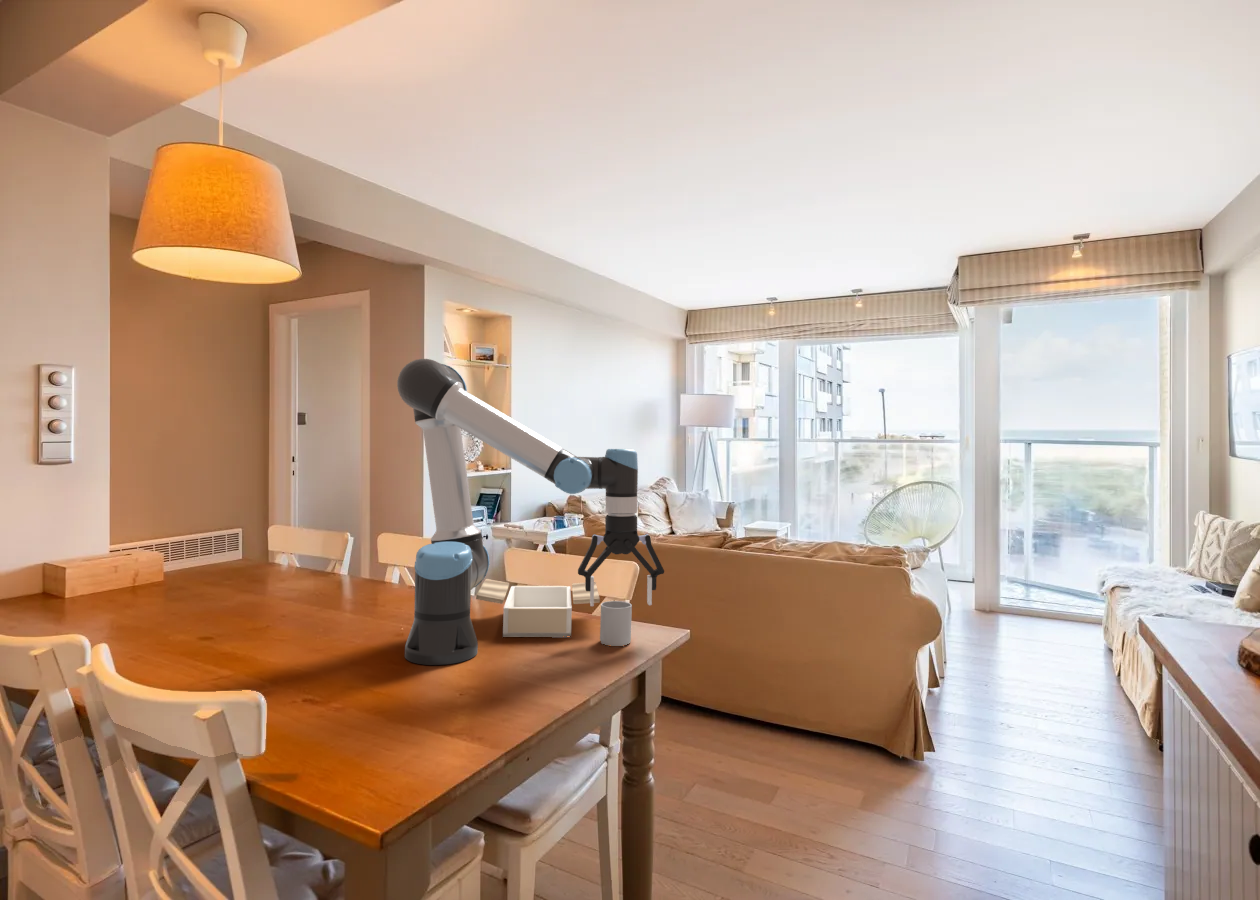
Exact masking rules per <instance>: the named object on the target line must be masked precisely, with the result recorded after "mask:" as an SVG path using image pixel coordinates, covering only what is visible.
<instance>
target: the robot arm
mask: <svg viewBox="0 0 1260 900" xmlns="http://www.w3.org/2000/svg"><path fill="white" fill-rule="evenodd" d="M396 385H397V386H396V387H397V392H398V394H399V396H400V398H401V400H402V401H403V402H404V403H405V404H406V405H407V406H408V407H410V408H412V410H413V416H414V417H413V418H414V422H415V423H414V424H415V425H417V426H418V427H419V428H420V429H421V430H422V432H423V439H424V446H425V447H424V448H425V455H426V461H427V469H428V471H427V472H428V477H429V484H430V491H431V499H432V507H433V514H434V522H435V528H436V529H435V530H436V531H435V533H434V534H433V535H432V536H431V538H430V542H431V543H429V544H425V545H423V546H422V547H420V548H419V549H418V550H417V552H416V556H415V561H414V613H413V614H414V616H413V618H414V619H413V622H412V625H411V628H410V630H409V634H408V637H407V640H406V642H405V646H404V658H405V660H407V661H408V662H410V663H414V664H418V665H425V666H442V665H443V666H444V665H453V664H457V663H462V662H466V661H468V660H470V659H473V658H474V657H476V656H477V654H478V650H479V649H478V646H479V641H478V639H477V635H476V631H475V629H474V625H473V622H472V619H471V602H472V601H471V600H472V598H471V597H472V595H471V594H472V590H473V589H474V588H476V587H477V586H479V585H480V584H481V583H482V582H483V581H484V579H486V578H485V577H486V576H487V573H488V570H489V569H490V554H489V552H488V549H487V548H486V547H485V545H484V543H483V537H482V531H481V529H480V528H478V527H477V526H475V524H474V517H473V510H472V503H471V496H470V495H471V494H470V487H469V479H468V474H467V473H468V472H467V466H466V458H465V450H464V443H463V442H464V441H463V437H462V431H465V432H466V433H468V435H470V436H473V437H474V438H476V439H478V440H480V441H481V442H483V443H485V444H486V445H488V446H489V447H491V448H493V449H495V450H497V451H498V452H500V453H502V454H503V455H505V456H507V457H509V458H510V459H513V460H514V461H515V462H518V463H519V464H520V465H522V466H524V467H526V468H528V470H531V471H532V472H534V473H536V474H538V475H539V476H541V477H543V478H545V479H546V480H548V481H549V482H551V483H553V484H554V485H555V487H556V488H557V489H559V490H560V491H562V492H563V493H566V494H568V495H569V494H570V495H576V494H579V493H582V492H584V491H585V490H596V489H598V490H604V489H605V513H606V514H607V515H605V519H604V520H605V525H604V526H605V529H604V530H605V532H604V535H597V534H594V533H593V534H592V535H591V542H590V545H589V547H588V549H587V551H586V553H585V555H584V557H583V559H582V561H581V563H580V565H579V567H578V569H577V574H578V575H579V576H582V577H584V578H585V582H584V583H585V589H586V591H590V603H589V605H590V607H594V606H595V603H594V582H595V578H594V575H593V574H594V573H595V572H596V571H597V570H598V568H599V567H601V565H602V564H603V563H604V562H605V560H606V559H607V558H608V557H609V556H611V554H614V555H621V554H623V555H629V554H630V553H632V554H633V555H634V556H635V558H636V559H637V560H638V561H639V562H640V563H641V565H642V566H643V567H644V568H645V570H646V571H647V572H648V573H649V574H648V575H646V577H647V578H646V580H647V582H646V583H647V585H646V591H647V592H646V602H647V605H648V606H652V605H653V603H652V602H653V601H652V600H653V598H652V597H653V594H652V593H653V591H656V590H657V577H658V576H660V575H664V574H665V570H664V568H663V566H662V563H661V561H660V559H659V557H658V555H657V553H656V551H655V549H654V547H653V545H652V539H651V535H650V534H649V533H645V534H644V535H639V534H638V516H637V515H636V514H637V513H638V482H639V481H638V478H639V475H638V474H639V466H638V465H639V464H638V462H639V461H638V453H637V451H636V450H635V449H632V448H608V449H606V451H605V454H604V456H597V457H596V456H576V455H575V454H573V453H572V452H570V451H568V450H566V449H564V448H562V447H561V446H559V445H558V444H556V443H555V442H552V441H551V440H549V439H547V438H545V437H544V436H543V435H541V434H539V433H537V432H536V431H534V430H532V429H530V428H529V427H527V426H526V425H524V424H522V423H521V422H519V421H517V420H515V419H514V418H512V417H510V416H508V415H507V414H505V412H502V411H500V410H499V409H497V408H496V407H494V406H493V405H491V404H488V402H485V401H484V400H482V399H481V398H478V397H477V396H475V395H473V394H472V393H470V392H468V391H467V390H468V389H467V385H466V381H465V379H464V378H463V377H462V375H461V374H460V373H459V372H458V371H457V370H456V369H455V368H454V367H452V366H449V365H447V364H443V363H440V362H438V361H436V360H434V359H430V358H429V359H428V358H419V359H414V360H412V361H410V362H408V363H407V364H405V365H404V367H403V368H402V369H401V371H400V372H399V374H398V378H397V381H396ZM601 542H603V543H604V544H605V545H606V547H605V548H604V549H603V551H602V552H601V554H600V555H598V557H597V558H596V559H595V560H594V561H593V563H592V564H591V565H590V566H589V568H587V567H588V564H589V563H590V561H591V559H592V557H593V554H594V552H595V550H596V548H597V546H599V545H600V544H601ZM639 542H641V543H642V545H645V548H646V550H647V551H648V553H649V556H650V557H651V560H652V561H653V563H654V565H655V567H656V568H655V569H654V568H653V567H652V566H651V565H650V564H649V562H648V561H647V560H646V558H644V556H643V555H642V554H641V553H640V552H639V550H638V549H637V548H636V546H637V545H638V543H639Z"/></svg>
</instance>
